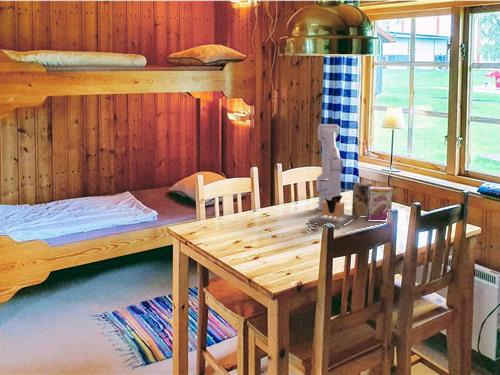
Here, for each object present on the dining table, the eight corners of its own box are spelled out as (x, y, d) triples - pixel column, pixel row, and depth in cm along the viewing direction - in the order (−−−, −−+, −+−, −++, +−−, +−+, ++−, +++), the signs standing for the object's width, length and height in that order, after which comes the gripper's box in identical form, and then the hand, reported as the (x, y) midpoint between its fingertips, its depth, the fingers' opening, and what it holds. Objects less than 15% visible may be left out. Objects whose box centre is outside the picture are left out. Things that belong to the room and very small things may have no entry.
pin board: (327, 213, 286) (327, 204, 285) (356, 218, 277) (357, 209, 276) (308, 223, 270) (308, 213, 269) (338, 229, 261) (339, 219, 260)
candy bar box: (367, 221, 272) (369, 188, 268) (366, 218, 277) (368, 186, 273) (390, 222, 271) (393, 189, 267) (389, 219, 276) (391, 187, 272)
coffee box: (371, 214, 284) (373, 183, 280) (370, 218, 278) (371, 186, 274) (353, 213, 287) (355, 182, 283) (351, 216, 281) (352, 185, 277)
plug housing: (324, 212, 277) (325, 200, 276) (343, 214, 273) (344, 202, 271) (321, 214, 273) (321, 202, 272) (340, 217, 269) (341, 204, 267)
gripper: (331, 179, 277) (330, 206, 281) (321, 186, 265) (320, 213, 268) (345, 181, 274) (344, 208, 277) (335, 187, 262) (334, 215, 265)
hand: (333, 211), depth 273 cm, fingers closed on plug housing, 4 cm apart
